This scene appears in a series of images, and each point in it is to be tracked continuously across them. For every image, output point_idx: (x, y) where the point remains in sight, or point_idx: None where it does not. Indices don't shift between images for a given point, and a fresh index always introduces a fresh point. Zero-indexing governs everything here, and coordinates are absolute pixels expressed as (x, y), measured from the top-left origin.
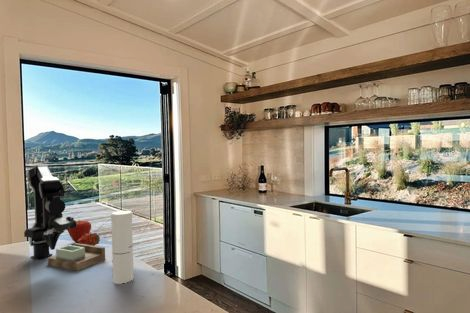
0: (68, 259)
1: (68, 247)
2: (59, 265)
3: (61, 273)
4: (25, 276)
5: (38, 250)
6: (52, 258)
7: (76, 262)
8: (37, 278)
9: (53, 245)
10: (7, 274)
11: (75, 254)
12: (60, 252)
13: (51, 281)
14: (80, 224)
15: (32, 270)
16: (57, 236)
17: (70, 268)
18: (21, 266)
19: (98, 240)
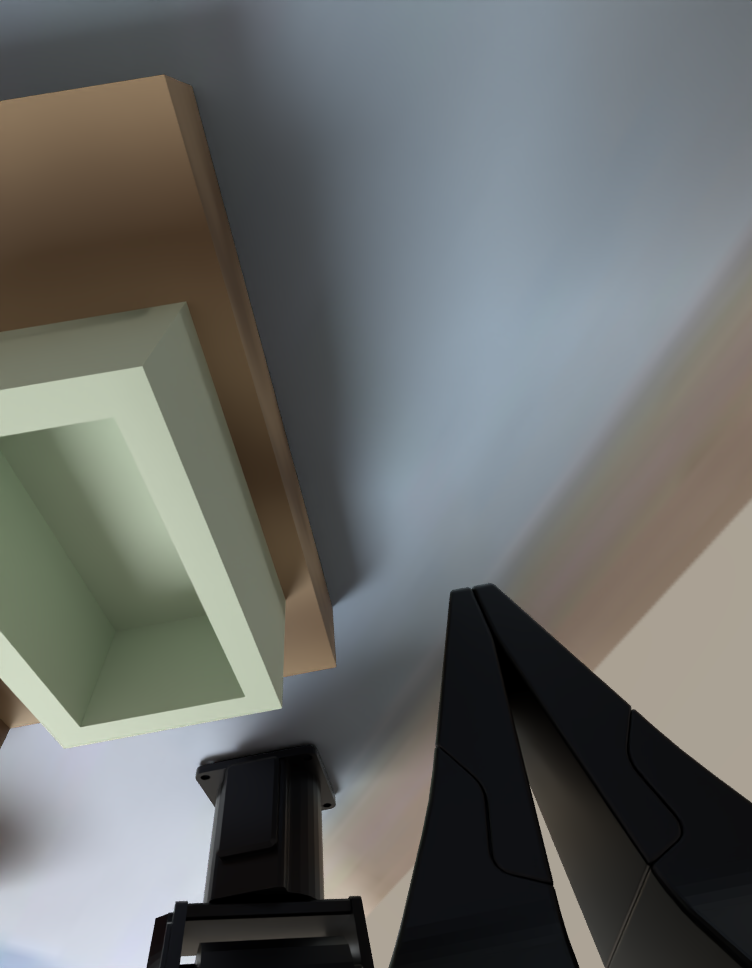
0: (216, 406)
1: (89, 699)
2: (294, 480)
3: (391, 234)
4: (605, 491)
5: (305, 835)
6: (315, 622)
7: (157, 165)
8: (614, 336)
9: (509, 646)
10: (612, 630)
11: (90, 346)
12: (259, 608)
13: (649, 25)
14: None
15: (481, 580)
16: (486, 905)
17: (240, 277)
18: None
19: None
